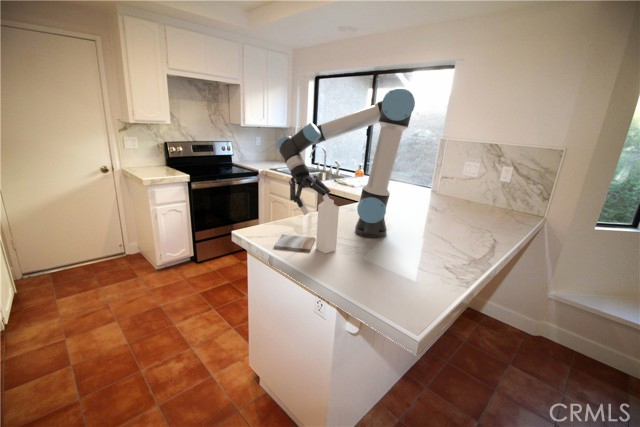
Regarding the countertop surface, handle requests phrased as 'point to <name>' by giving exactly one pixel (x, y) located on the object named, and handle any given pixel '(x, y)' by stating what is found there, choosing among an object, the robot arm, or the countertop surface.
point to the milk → (327, 226)
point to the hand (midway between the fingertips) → (319, 210)
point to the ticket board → (295, 243)
